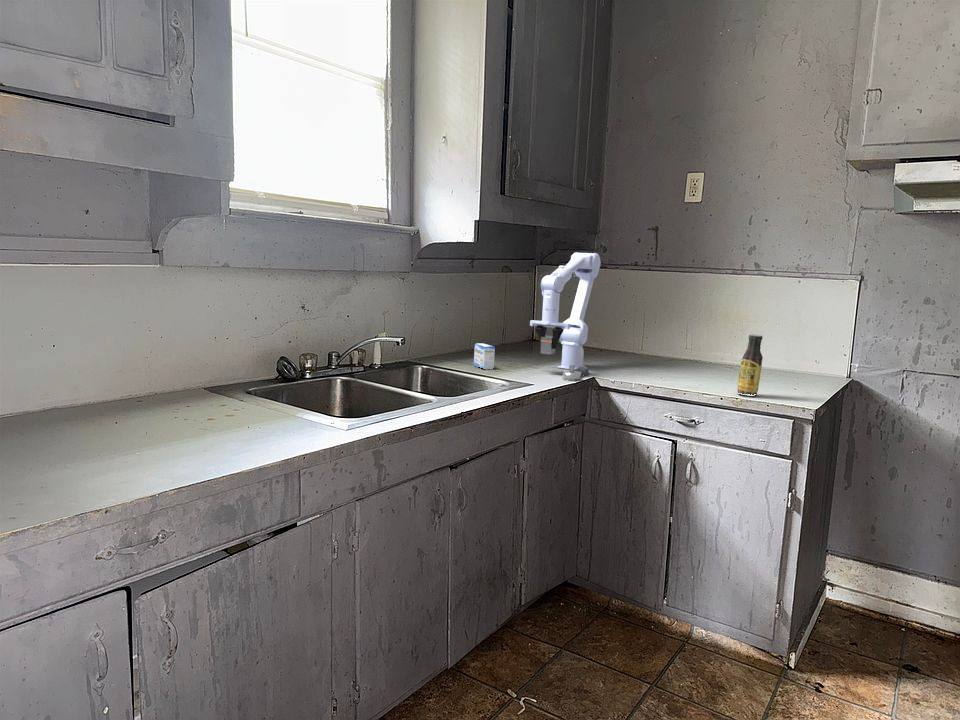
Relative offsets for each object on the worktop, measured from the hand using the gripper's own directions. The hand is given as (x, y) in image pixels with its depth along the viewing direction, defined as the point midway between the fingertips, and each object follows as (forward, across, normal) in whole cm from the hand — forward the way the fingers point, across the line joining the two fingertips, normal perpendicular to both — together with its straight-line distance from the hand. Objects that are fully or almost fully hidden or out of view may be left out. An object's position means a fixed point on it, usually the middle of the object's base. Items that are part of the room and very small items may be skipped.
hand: (548, 347), depth 237 cm
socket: (+2, 0, 0) cm, 2 cm away
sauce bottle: (+10, +67, +8) cm, 68 cm away
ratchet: (+9, +11, +1) cm, 14 cm away
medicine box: (+10, -23, -5) cm, 26 cm away
